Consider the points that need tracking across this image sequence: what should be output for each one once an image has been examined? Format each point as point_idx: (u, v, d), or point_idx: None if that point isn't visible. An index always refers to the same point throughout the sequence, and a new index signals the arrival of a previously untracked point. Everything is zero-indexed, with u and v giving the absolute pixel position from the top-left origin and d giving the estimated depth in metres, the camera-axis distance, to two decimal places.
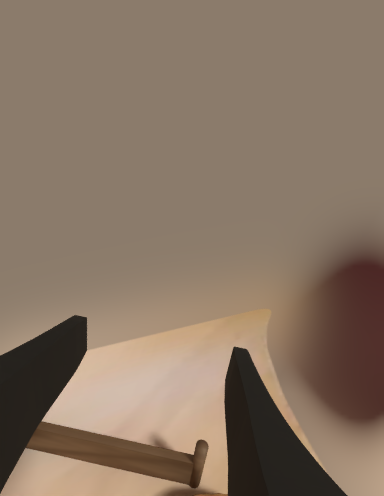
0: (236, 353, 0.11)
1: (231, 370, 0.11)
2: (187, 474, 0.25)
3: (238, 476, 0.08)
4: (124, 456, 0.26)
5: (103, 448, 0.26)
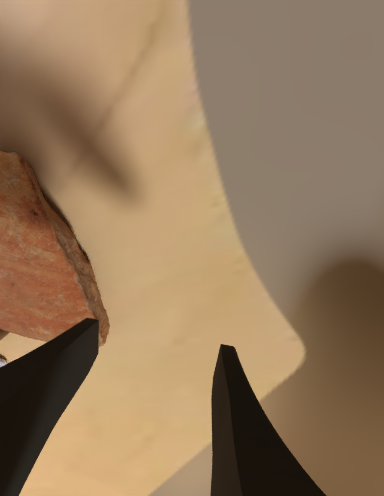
0: (222, 350, 0.11)
1: (218, 367, 0.11)
2: None
3: (219, 472, 0.08)
4: None
5: None
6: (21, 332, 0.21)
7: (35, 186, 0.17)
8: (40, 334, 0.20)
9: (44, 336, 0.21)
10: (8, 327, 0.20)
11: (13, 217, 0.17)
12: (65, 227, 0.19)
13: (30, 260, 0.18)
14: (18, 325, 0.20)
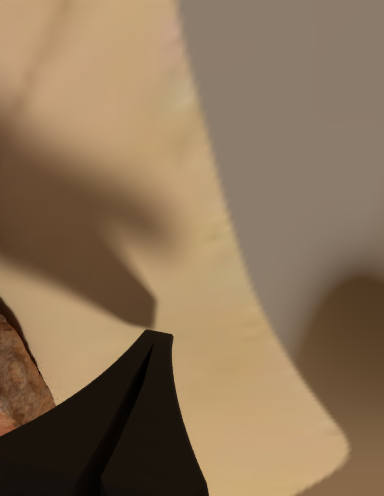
0: (157, 337, 0.11)
1: None
2: None
3: None
4: None
5: None
6: None
7: None
8: None
9: None
10: None
11: None
12: None
13: None
14: None
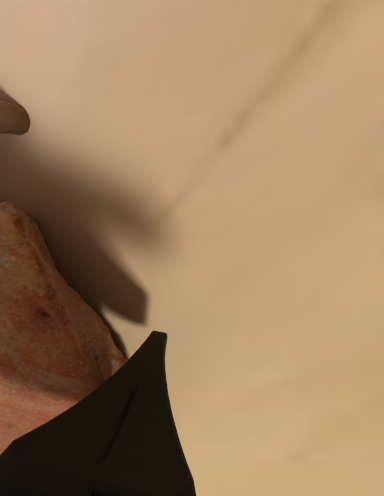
0: (151, 336, 0.11)
1: None
2: None
3: None
4: None
5: None
6: None
7: (44, 266, 0.10)
8: None
9: None
10: None
11: (5, 324, 0.09)
12: (93, 319, 0.12)
13: (39, 391, 0.10)
14: None
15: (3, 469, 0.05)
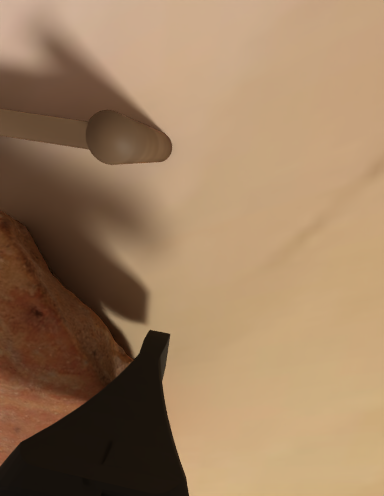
0: (147, 335, 0.11)
1: None
2: None
3: None
4: None
5: None
6: None
7: (33, 265, 0.10)
8: None
9: None
10: None
11: (1, 326, 0.10)
12: (90, 316, 0.12)
13: (40, 391, 0.10)
14: None
15: (11, 471, 0.05)
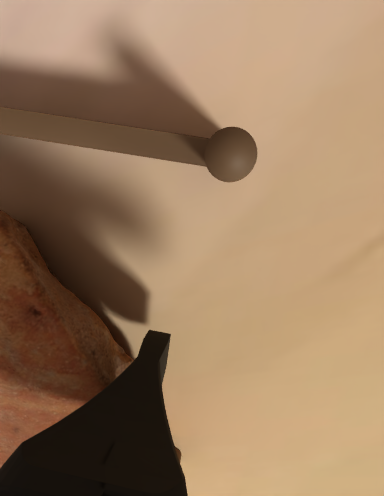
0: (147, 335, 0.11)
1: None
2: None
3: None
4: None
5: None
6: None
7: (31, 264, 0.10)
8: None
9: None
10: None
11: None
12: (89, 315, 0.12)
13: (39, 391, 0.10)
14: None
15: (13, 472, 0.05)
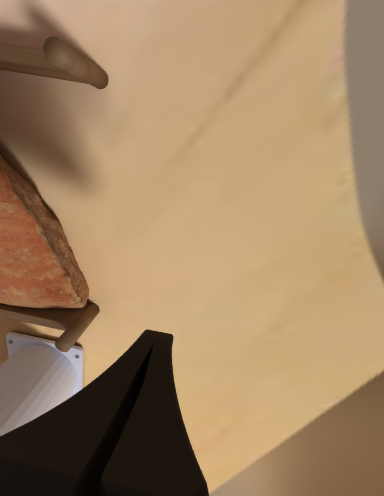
0: (157, 337, 0.11)
1: None
2: (77, 78, 0.16)
3: None
4: None
5: None
6: None
7: None
8: (14, 296, 0.20)
9: (18, 298, 0.20)
10: None
11: None
12: (25, 182, 0.19)
13: None
14: None
15: None
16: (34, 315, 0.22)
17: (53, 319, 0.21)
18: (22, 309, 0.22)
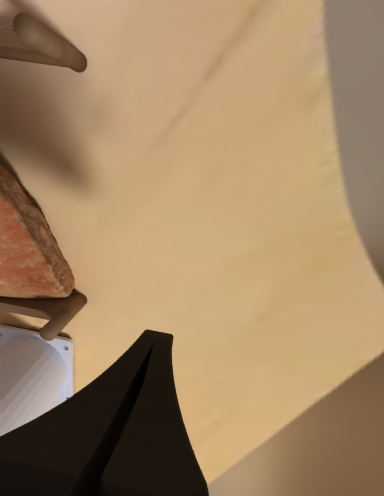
0: (157, 337, 0.11)
1: None
2: (54, 60, 0.16)
3: None
4: None
5: None
6: None
7: None
8: None
9: (1, 288, 0.20)
10: None
11: None
12: (3, 169, 0.19)
13: None
14: None
15: None
16: (19, 305, 0.21)
17: (39, 309, 0.21)
18: (8, 299, 0.22)
